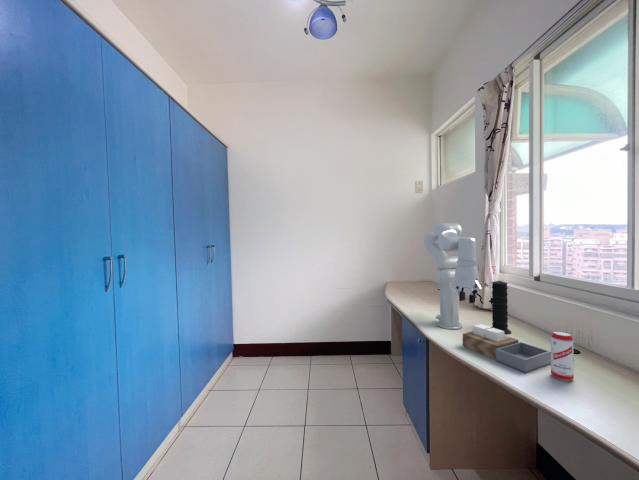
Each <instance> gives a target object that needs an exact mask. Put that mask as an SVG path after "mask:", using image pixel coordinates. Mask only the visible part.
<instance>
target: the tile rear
mask: <svg viewBox="0 0 639 480" xmlns="http://www.w3.org/2000/svg"><path fill="white" fill-rule="evenodd" d="M491 327H492V326H488V325H485V324H481V323H479V324H476V325H473V327H472V328H473V333H474V334H477V335H480V336H483V337H485V336H486V329H490V328H491Z"/></svg>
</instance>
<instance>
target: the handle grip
mask: <svg viewBox="0 0 639 480" xmlns="http://www.w3.org/2000/svg"><path fill="white" fill-rule="evenodd" d="M491 283H492V286H491V288H492V290H491V295H492V296H491V297H492V298H491V300H492V302H491V303H492V304H491V306H492V308H491V309H492V311H491V312H492V317H491V319H492V323H491V324H492V326H490V327H491V328H495V329H499V330H502V331H504V335H511V334H512V330H510V329H509V328H508V327H509V323H508V321H509V320H508V315H509V314H508V313H509V312H508V307H509V306H508V302H509V301H508V282H505V281H501V280H496V281H491Z"/></svg>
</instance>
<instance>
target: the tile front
mask: <svg viewBox="0 0 639 480" xmlns="http://www.w3.org/2000/svg"><path fill="white" fill-rule="evenodd" d="M504 335H505V334H504V331H502V330H499V329H495V328H490V329H486V338H489V339H491V340H494V341H500V340H504V339H505V337H504Z"/></svg>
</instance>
